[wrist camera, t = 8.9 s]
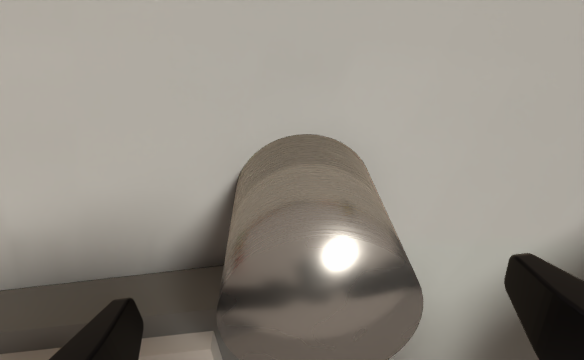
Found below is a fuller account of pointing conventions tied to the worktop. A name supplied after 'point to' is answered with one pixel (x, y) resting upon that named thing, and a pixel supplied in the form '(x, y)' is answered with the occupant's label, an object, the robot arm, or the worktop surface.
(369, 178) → the cylinder
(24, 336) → the kitchen scale
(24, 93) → the worktop surface
